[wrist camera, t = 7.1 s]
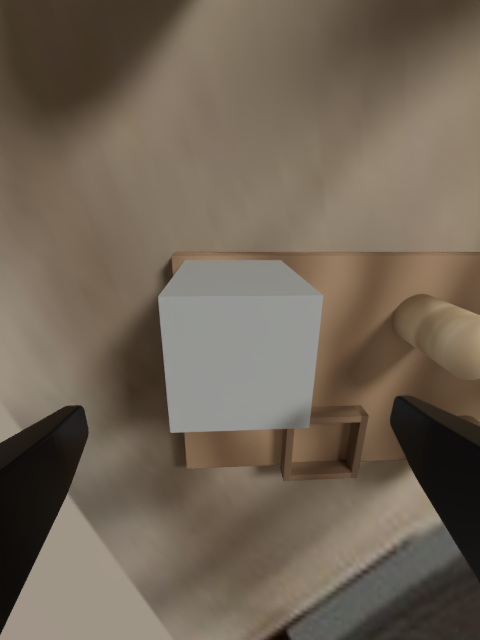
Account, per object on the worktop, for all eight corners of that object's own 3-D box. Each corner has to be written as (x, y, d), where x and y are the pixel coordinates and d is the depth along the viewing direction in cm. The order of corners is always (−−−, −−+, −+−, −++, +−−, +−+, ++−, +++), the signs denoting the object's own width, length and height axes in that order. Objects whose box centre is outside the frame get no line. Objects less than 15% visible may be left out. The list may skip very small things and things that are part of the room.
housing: (280, 260, 17) (323, 295, 10) (276, 346, 19) (309, 427, 12) (185, 260, 17) (157, 296, 10) (190, 347, 19) (170, 432, 12)
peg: (446, 293, 19) (520, 321, 14) (434, 339, 20) (500, 379, 15) (397, 294, 19) (456, 322, 14) (388, 340, 20) (440, 380, 15)
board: (524, 252, 20) (568, 258, 17) (459, 445, 25) (485, 471, 23) (175, 252, 18) (167, 258, 16) (189, 456, 24) (185, 485, 22)
